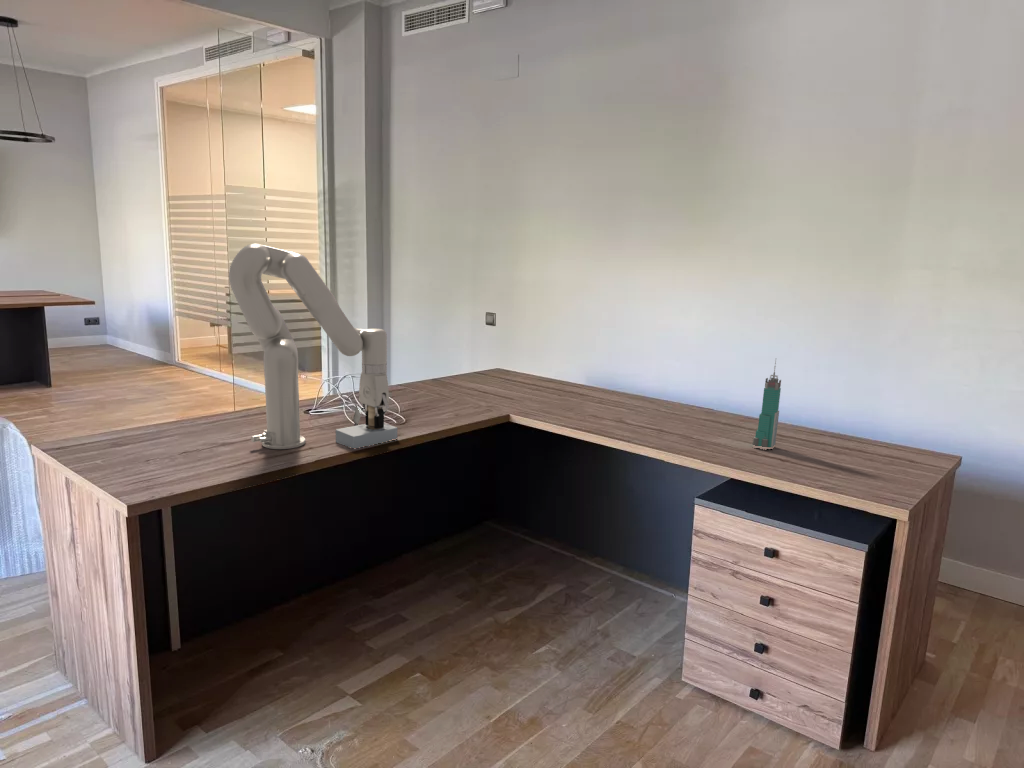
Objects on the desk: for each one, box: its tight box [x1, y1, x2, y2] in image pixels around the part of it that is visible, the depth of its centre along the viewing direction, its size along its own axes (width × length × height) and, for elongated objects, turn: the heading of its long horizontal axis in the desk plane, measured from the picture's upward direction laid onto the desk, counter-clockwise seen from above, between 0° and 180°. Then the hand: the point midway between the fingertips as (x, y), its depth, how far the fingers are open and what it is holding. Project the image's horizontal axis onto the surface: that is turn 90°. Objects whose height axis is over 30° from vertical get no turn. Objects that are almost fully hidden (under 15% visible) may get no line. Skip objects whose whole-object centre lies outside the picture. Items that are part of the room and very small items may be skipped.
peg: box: [368, 404, 381, 429], centre depth 220 cm, size 4×4×12 cm
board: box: [335, 422, 398, 449], centre depth 219 cm, size 16×10×4 cm, turn 135°
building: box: [752, 359, 782, 447], centre depth 224 cm, size 6×6×30 cm
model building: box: [352, 403, 362, 426], centre depth 248 cm, size 7×7×25 cm
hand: (374, 425), depth 221 cm, fingers closed on peg, 4 cm apart
